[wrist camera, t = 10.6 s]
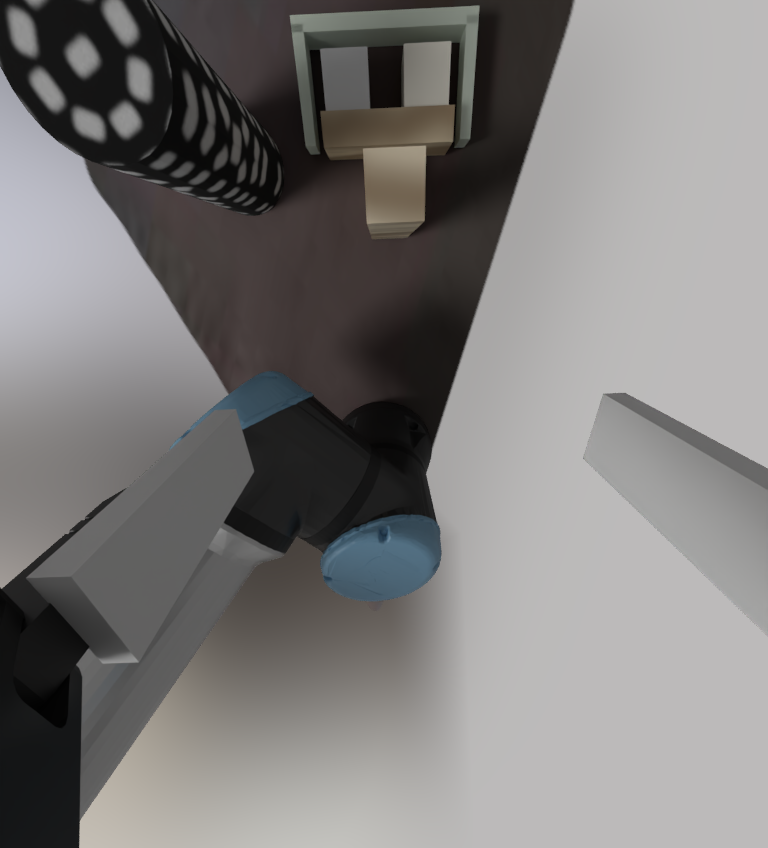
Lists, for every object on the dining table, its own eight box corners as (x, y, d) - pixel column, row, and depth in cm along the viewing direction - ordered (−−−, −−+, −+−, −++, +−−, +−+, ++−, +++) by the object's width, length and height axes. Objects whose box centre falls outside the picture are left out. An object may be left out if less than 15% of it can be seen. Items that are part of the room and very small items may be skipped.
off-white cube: (440, 124, 31) (448, 106, 28) (401, 125, 31) (404, 108, 28) (442, 67, 29) (451, 41, 26) (400, 70, 29) (403, 43, 26)
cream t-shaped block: (441, 236, 35) (482, 218, 21) (337, 240, 35) (309, 226, 21) (446, 122, 31) (502, 3, 17) (327, 128, 31) (282, 14, 17)
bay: (463, 147, 32) (470, 138, 30) (310, 154, 32) (305, 146, 30) (471, 26, 28) (479, 5, 26) (297, 34, 28) (289, 15, 26)
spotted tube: (250, 95, 30) (63, -146, 12) (299, 189, 33) (208, 107, 16) (186, 146, 32) (-60, -2, 14) (239, 230, 35) (96, 198, 17)
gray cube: (371, 128, 31) (370, 110, 28) (332, 129, 31) (326, 113, 28) (368, 72, 29) (367, 46, 26) (327, 74, 29) (319, 48, 26)
